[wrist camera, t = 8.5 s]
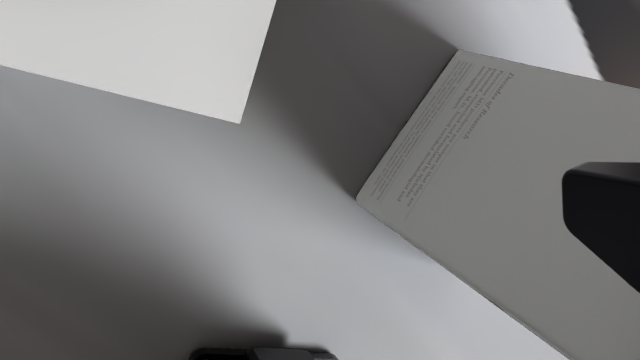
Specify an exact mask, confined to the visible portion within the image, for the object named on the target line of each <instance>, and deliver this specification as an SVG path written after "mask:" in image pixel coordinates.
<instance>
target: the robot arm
mask: <svg viewBox="0 0 640 360" xmlns="http://www.w3.org/2000/svg"><path fill="white" fill-rule="evenodd" d="M561 185H562V211H563V220H564V224H565V226H566V227H567V229H568V230H569V232H570V233H571V234H572V235H573V236H575V237H576V238H577V239H578V240H579V241H580V242H581V243H583V244H584V245H585V246H586V247H587V248H588V249H589V250H590V251H592V252H593V253H594V254H595V255H596V256H597V257H598V258H600V259H601V260H602V261H603V262H604V263H605V264H606V265H608V266H609V267H610V268H611V269H612V270H613V271H614V272H615V273H617V274H618V275H619V276H620V277H621V278H622V279H623V280H625V281H626V282H627V283H628V284H629V285H630V286H631V287H633V288H634V289H635V290H636V291H637V292H639V293H640V162H585V163H582V164H580V165H578V166H575V167H573V168H571V169H569V170H567V171H566V172H565V173H564V174H563V177H562V182H561ZM206 359H207V360H338V359H337V358H336V356H335V355H333V354H326V353H309V352H308V351H307V350H299V349H279V348H259V347H253V348H250V349H248V350H243V349H222V348H200V349H198V350H195V351H194V352H193V353H192V354H191V355H190V357H189V359H188V360H206Z"/></svg>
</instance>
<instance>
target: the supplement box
mask: <svg viewBox="0 0 640 360" xmlns="http://www.w3.org/2000/svg"><path fill="white" fill-rule="evenodd" d="M585 162H640V89H636V88H631V87H627V86H622V85H618V84H613V83H609V82H605V81H600V80H596V79H591V78H587V77H582V76H577V75H572V74H568V73H563V72H559V71H554V70H550V69H545V68H541V67H536V66H531V65H527V64H523V63H518V62H513V61H509V60H505V59H501V58H496V57H491V56H486V55H481V54H477V53H472V52H467V51H464V50H458V51H457V52H456V54H455V55H454V57H453V58H452V59H451V61H450V62H449V64H448V65H447V66H446V68H445V69H444V71H443V72H442V73H441V75H440V76H439V77H438V79H437V81H436V82H435V83H434V85H433V86H432V88H431V89H430V91H429V92H428V93H427V95H426V96H425V98H424V99H423V100H422V102H421V103H420V104H419V106H418V107H417V109H416V110H415V112H414V113H413V115H412V116H411V118H410V119H409V120H408V122H407V123H406V125H405V126H404V127H403V129H402V130H401V132H400V133H399V134H398V136H397V137H396V139H395V140H394V142H393V143H392V145H391V146H390V148H389V149H388V150H387V152H386V153H385V155H384V156H383V157H382V159H381V160H380V162H379V163H378V165H377V166H376V168H375V169H374V171H373V172H372V173H371V175H370V176H369V178H368V179H367V181H366V182H365V184H364V185H363V187H362V189H361V190H360V192H359V193H358V195H357V197H356V202H357V203H358V204H359V205H360V206H361V207H363V208H364V209H365V210H367V211H368V212H369V213H371V214H372V215H373V216H375V217H376V218H378V219H379V220H380V221H382V222H383V223H384V224H386V225H387V226H388V227H390V228H391V229H393V230H394V231H395V232H397V233H398V234H399V235H401V236H402V237H403V238H405V239H406V240H407V241H409V242H410V243H411V244H413V245H414V246H415V247H417V248H418V249H420V250H421V251H422V252H424V253H425V254H426V255H428V256H429V257H430V258H432V259H433V260H434V261H436V262H437V263H438V264H440V265H441V266H443V267H444V268H445V269H447V270H448V271H449V272H451V273H452V274H453V275H455V276H456V277H457V278H459V279H460V280H462V281H463V282H464V283H466V284H467V285H468V286H470V287H471V288H472V289H474V290H475V291H476V292H478V293H479V294H481V295H482V296H483V297H485V298H486V299H487V300H489V301H490V302H491V303H493V304H494V305H495V306H497V307H498V308H500V309H501V310H502V311H504V312H505V313H506V314H508V315H509V316H510V317H512V318H513V319H514V320H516V321H517V322H519V323H520V324H521V325H523V326H524V327H525V328H527V329H528V330H530V331H531V332H532V333H534V334H535V335H536V336H538V337H539V338H540V339H542V340H543V341H545V342H546V343H547V344H549V345H550V346H551V347H553V348H554V349H555V350H557V351H558V352H560V353H561V354H562V355H564V356H565V357H566V358H568V359H569V360H640V293H639V292H637V291H636V290H635V289H634V288H633V287H631V286H630V285H629V284H628V283H627V282H626V281H625V280H623V279H622V278H621V277H620V276H619V275H618V274H617V273H615V272H614V271H613V270H612V269H611V268H610V267H609V266H608V265H606V264H605V263H604V262H603V261H602V260H601V259H600V258H598V257H597V256H596V255H595V254H594V253H593V252H592V251H590V250H589V249H588V248H587V247H586V246H585V245H584V244H583V243H581V242H580V241H579V240H578V239H577V238H576V237H575V236H573V235H572V234H571V233H570V232H569V230H568V229H567V227H566V226H565V224H564V220H563V211H562V185H561V182H562V177H563V174H564V173H565V172H566V171H567V170H569V169H571V168H573V167H575V166H578V165H580V164H582V163H585Z"/></svg>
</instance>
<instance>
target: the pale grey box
mask: <svg viewBox="0 0 640 360" xmlns="http://www.w3.org/2000/svg"><path fill="white" fill-rule="evenodd" d="M275 3H276V0H0V65H2V66H6V67H10V68H14V69H18V70H23V71H27V72H31V73H35V74H39V75H43V76H47V77H51V78H55V79H59V80H63V81H67V82H71V83H75V84H79V85H84V86H88V87H92V88H96V89H100V90H104V91H108V92H112V93H116V94H120V95H124V96H128V97H132V98H136V99H140V100H145V101H149V102H153V103H157V104H161V105H165V106H169V107H173V108H177V109H181V110H185V111H189V112H193V113H197V114H202V115H206V116H210V117H214V118H218V119H222V120H226V121H230V122H234V123H238V124H240V122H241V118H242V115H243V112H244V108H245V105H246V102H247V98H248V95H249V91H250V88H251V85H252V81H253V78H254V74H255V71H256V68H257V64H258V61H259V58H260V54H261V51H262V47H263V44H264V41H265V37H266V34H267V30H268V27H269V24H270V20H271V17H272V14H273V10H274V7H275Z"/></svg>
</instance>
